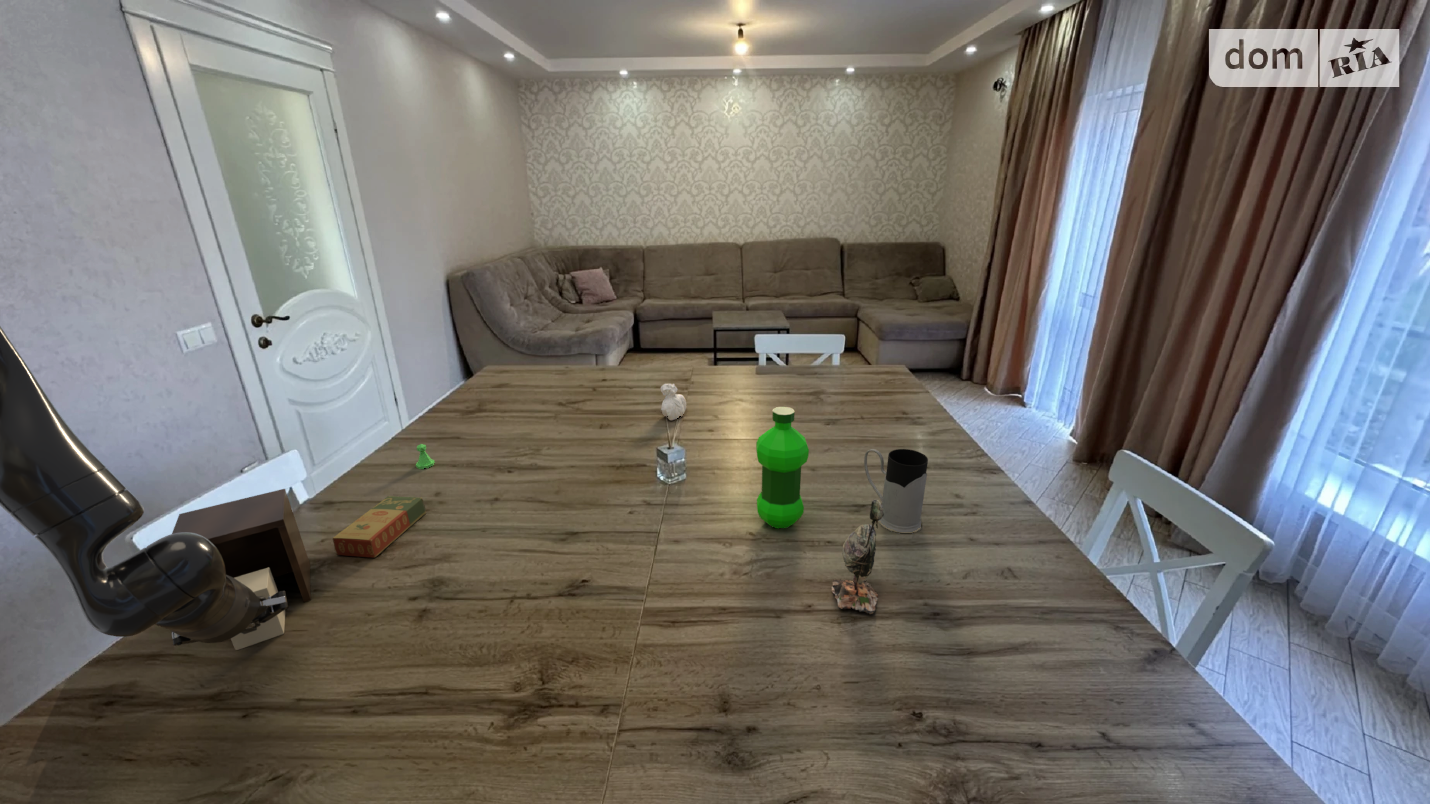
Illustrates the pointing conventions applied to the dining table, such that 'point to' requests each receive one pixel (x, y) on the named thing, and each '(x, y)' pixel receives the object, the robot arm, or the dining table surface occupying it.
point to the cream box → (266, 587)
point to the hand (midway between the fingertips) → (249, 625)
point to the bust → (672, 402)
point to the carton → (379, 526)
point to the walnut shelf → (254, 536)
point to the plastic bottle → (781, 470)
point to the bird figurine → (859, 565)
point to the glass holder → (902, 488)
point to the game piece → (423, 458)
